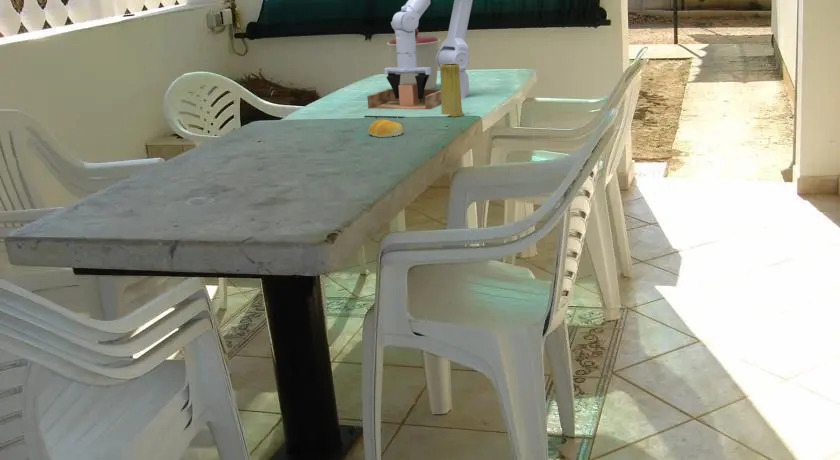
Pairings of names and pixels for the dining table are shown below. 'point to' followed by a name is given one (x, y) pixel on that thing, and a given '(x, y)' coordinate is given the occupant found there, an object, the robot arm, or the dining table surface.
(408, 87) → the block
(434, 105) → the crate
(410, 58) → the robot arm
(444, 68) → the vase
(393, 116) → the mat
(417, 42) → the canister
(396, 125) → the bread roll
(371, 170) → the dining table surface
